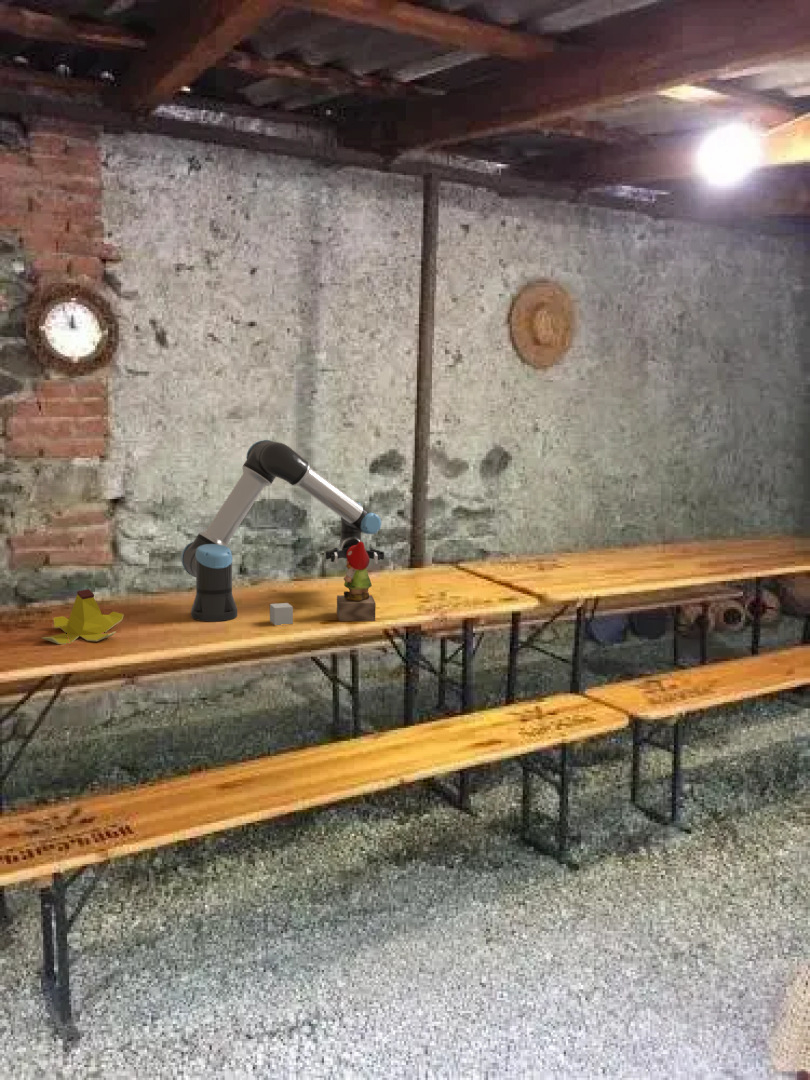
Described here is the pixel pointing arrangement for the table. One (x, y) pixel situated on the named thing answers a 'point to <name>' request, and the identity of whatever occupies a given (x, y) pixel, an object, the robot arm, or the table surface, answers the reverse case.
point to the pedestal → (355, 609)
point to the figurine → (357, 573)
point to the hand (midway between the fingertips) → (356, 559)
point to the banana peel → (84, 621)
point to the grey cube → (281, 613)
